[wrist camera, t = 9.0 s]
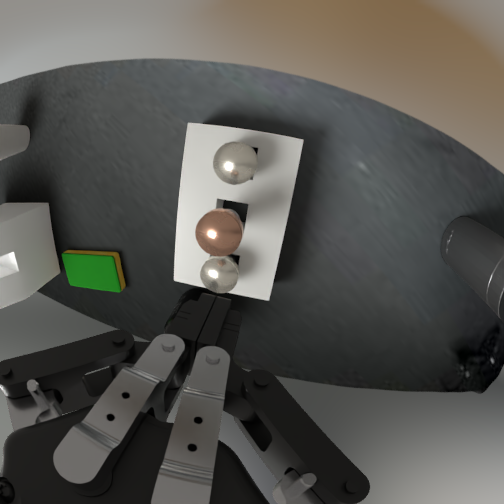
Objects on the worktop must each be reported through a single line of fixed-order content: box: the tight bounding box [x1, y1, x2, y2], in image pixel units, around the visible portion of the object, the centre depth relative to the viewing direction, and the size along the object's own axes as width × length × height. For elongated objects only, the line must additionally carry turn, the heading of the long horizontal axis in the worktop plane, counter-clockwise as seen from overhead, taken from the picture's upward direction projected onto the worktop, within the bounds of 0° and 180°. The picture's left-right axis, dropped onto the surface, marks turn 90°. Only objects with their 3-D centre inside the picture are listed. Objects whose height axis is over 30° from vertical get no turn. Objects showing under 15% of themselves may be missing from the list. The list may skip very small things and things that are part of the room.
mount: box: [174, 123, 303, 301], centre depth 36 cm, size 14×22×5 cm, turn 171°
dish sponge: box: [62, 250, 126, 292], centre depth 45 cm, size 7×14×2 cm, turn 90°
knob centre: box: [195, 208, 243, 257], centre depth 30 cm, size 5×5×6 cm
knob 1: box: [213, 142, 258, 185], centre depth 31 cm, size 5×5×6 cm
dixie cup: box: [0, 124, 30, 160], centre depth 32 cm, size 8×8×10 cm
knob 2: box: [200, 254, 239, 293], centre depth 36 cm, size 5×5×6 cm
